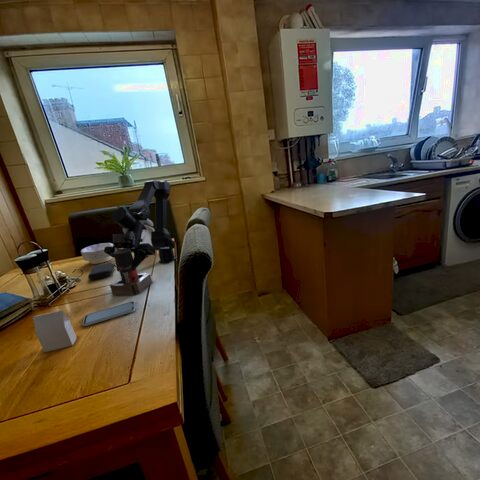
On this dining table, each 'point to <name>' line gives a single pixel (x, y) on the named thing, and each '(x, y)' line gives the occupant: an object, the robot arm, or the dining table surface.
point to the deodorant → (126, 265)
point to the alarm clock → (145, 231)
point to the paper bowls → (96, 253)
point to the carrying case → (101, 271)
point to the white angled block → (54, 330)
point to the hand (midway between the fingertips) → (125, 270)
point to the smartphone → (109, 313)
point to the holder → (131, 285)
